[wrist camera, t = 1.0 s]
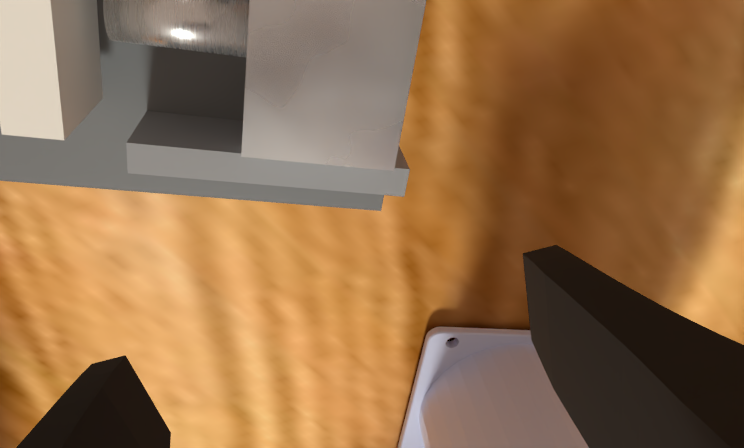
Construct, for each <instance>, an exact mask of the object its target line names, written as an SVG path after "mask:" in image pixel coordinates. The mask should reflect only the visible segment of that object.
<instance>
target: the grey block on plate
mask: <svg viewBox="0 0 744 448" xmlns="http://www.w3.org/2000/svg"><path fill="white" fill-rule="evenodd" d="M425 4H426V0H103V14H104V23H105V29H106V33H107V35H108V37H109V39H110V40H111V41H119V42H127V43H135V44H143V45H151V46H159V47H167V48H175V49H183V50H191V51H199V52H207V53H215V54H223V55H231V56H239V57H247V59H246V77H245V96H244V114H243V133H242V151H241V157H248V158H259V159H269V160H280V161H291V162H302V163H312V164H323V165H334V166H345V167H355V168H366V169H377V170H388V171H394V168H395V163H396V157H397V152H398V147H399V142H400V136H401V131H402V126H403V120H404V115H405V110H406V105H407V99H408V94H409V89H410V83H411V78H412V73H413V68H414V62H415V57H416V52H417V46H418V41H419V36H420V31H421V25H422V20H423V15H424V9H425Z"/></svg>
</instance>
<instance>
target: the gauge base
mask: <svg viewBox="0 0 744 448" xmlns="http://www.w3.org/2000/svg"><path fill="white" fill-rule="evenodd" d="M97 13H98V28H99V44H100V60H101V76H102V92H103V98H102V100H101V101H100V102H99V103H98V104H97V105H96V106H95V107H94V108H93V109H92V111H91V112H90V113H89V114H88V115H87V116H86V117H85V118H84V119H83V120H82V122H81V123H80V124H79V125H78V126H77V127H76V128H75V129H74V130H73V131H72V132H71V134H70V135H69V136H68V137H67V138H66V139H65V140H55V139H44V138H33V137H23V136H12V135H2V133H1V127H0V181H12V182H25V183H37V184H50V185H62V186H75V187H87V188H100V189H113V190H125V191H138V192H150V193H163V194H176V195H188V196H201V197H213V198H226V199H238V200H251V201H264V202H276V203H289V204H301V205H314V206H327V207H339V208H352V209H364V210H377V211H381V208H382V203H383V197H384V195H390V196H402V197H404V195H405V190H406V185H407V180H408V175H409V171H410V169H409V167H408V165H407V162H406V160H405V158H404V156H403V154H402V152H401V149H400V147H398V152H397V157H396V163H395V168H394V171H388V170H377V169H366V168H355V167H345V166H334V165H323V164H312V163H302V162H291V161H280V160H269V159H259V158H248V157H241V151H242V133H243V114H244V96H245V77H246V59H247V57H239V56H231V55H223V54H215V53H207V52H199V51H191V50H183V49H175V48H167V47H159V46H151V45H143V44H135V43H127V42H119V41H111V40H110V39H109V37H108V35H107V33H106V29H105V23H104V14H103V0H97Z"/></svg>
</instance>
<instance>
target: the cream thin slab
mask: <svg viewBox="0 0 744 448" xmlns="http://www.w3.org/2000/svg"><path fill="white" fill-rule="evenodd" d="M102 98H103V92H102V76H101V60H100V44H99V28H98V13H97V0H0V127H1V133H2V135H12V136H23V137H33V138H44V139H55V140H65V139H66V138H67V137H68V136H69V135H70V134H71V132H72V131H73V130H74V129H75V128H76V127H77V126H78V125H79V124H80V123H81V122H82V120H83V119H84V118H85V117H86V116H87V115H88V114H89V113H90V112H91V111H92V109H93V108H94V107H95V106H96V105H97V104H98V103H99V102H100V101H101V100H102Z"/></svg>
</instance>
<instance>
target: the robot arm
mask: <svg viewBox="0 0 744 448" xmlns="http://www.w3.org/2000/svg"><path fill="white" fill-rule="evenodd" d="M523 261H524V271H525V281H526V291H527V301H528V311H529V321H530V330H512V329H488V328H464V327H435V328H433V329H431V330H430V331H429V332H428V333H427V335H426V338H425V342H424V346H423V350H422V354H421V358H420V362H419V365H418V369H417V373H416V377H415V381H414V385H413V389H412V393H411V397H410V401H409V405H408V409H407V413H406V416H405V420H404V424H403V428H402V432H401V436H400V440H399V444H398V448H744V345H742V344H740V343H738V342H735V341H733V340H731V339H729V338H726V337H724V336H722V335H720V334H718V333H716V332H714V331H711V330H709V329H707V328H705V327H703V326H701V325H699V324H697V323H695V322H693V321H691V320H689V319H687V318H685V317H683V316H681V315H679V314H677V313H675V312H673V311H671V310H669V309H667V308H665V307H663V306H661V305H659V304H658V303H656V302H654V301H652V300H650V299H648V298H647V297H645V296H643V295H641V294H639V293H638V292H636V291H634V290H632V289H630V288H629V287H627V286H625V285H623V284H622V283H620V282H618V281H616V280H615V279H613V278H611V277H610V276H608V275H606V274H605V273H603V272H601V271H599V270H598V269H596V268H594V267H593V266H591V265H589V264H588V263H586V262H584V261H583V260H581V259H579V258H578V257H576V256H574V255H573V254H571V253H569V252H568V251H566V250H564V249H563V248H561V247H559V246H557V245H554V246H550V247H546V248H542V249H538V250H535V251H531V252H527V253H523ZM450 338H455V339H454V340H452V341H447V340H448V339H450ZM170 437H171V432H170V431H169V429H168V427H167V426H166V424H165V422H164V420H163V419H162V417H161V415H160V414H159V412H158V410H157V409H156V407H155V405H154V403H153V402H152V400H151V398H150V397H149V395H148V393H147V391H146V390H145V388H144V386H143V385H142V383H141V381H140V380H139V378H138V376H137V374H136V373H135V371H134V369H133V368H132V366H131V364H130V362H129V361H128V359H127V357H126V356H121V357H118V358H114V359H110V360H106V361H102V362H98V363H94V364H91V365H90V366H89V367H88V368H87V369H86V370H85V371H84V372H83V373H82V374H81V375H80V377H79V378H78V379H77V380H76V381H75V382H74V383H73V384H72V385H71V386H70V387H69V388H68V390H67V391H66V392H65V393H64V394H63V395H62V396H61V397H60V399H59V400H58V401H57V402H56V403H55V404H54V405H53V407H52V408H51V409H50V410H49V411H48V412H47V413H46V415H45V416H44V417H43V418H42V419H41V420H40V421H39V423H38V424H37V425H36V426H35V427H34V428H33V429H32V430H31V432H30V433H29V434H28V435H27V436H26V437H25V438H24V440H23V441H22V442H21V443H20V444H19V445H18V446H17V447H16V448H170Z"/></svg>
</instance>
